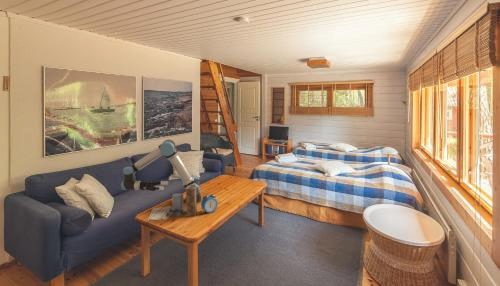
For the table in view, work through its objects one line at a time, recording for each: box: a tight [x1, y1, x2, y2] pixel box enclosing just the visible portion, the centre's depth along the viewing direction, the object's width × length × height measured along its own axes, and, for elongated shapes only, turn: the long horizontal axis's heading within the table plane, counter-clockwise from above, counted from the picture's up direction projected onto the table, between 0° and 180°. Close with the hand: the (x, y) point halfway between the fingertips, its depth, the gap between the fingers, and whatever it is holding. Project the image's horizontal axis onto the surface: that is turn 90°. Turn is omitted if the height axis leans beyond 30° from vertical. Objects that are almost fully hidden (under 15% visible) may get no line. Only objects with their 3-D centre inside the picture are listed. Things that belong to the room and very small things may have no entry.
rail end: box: [171, 192, 184, 209], centre depth 226 cm, size 8×5×14 cm, turn 91°
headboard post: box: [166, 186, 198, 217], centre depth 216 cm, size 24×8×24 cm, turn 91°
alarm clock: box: [200, 193, 219, 214], centre depth 223 cm, size 13×6×15 cm, turn 124°
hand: (165, 185), depth 223 cm, fingers open, 13 cm apart
